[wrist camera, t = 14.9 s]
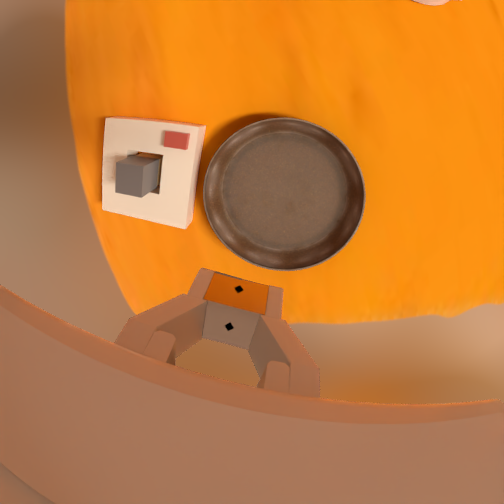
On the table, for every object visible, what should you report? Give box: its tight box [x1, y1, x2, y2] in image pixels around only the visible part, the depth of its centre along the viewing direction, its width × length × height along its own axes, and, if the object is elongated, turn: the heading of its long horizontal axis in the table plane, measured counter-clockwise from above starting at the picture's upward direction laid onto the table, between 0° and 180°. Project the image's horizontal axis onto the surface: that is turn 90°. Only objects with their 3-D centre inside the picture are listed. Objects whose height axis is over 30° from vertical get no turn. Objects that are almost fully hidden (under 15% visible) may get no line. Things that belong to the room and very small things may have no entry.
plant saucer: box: [203, 118, 365, 271], centre depth 35 cm, size 21×21×3 cm
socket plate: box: [102, 116, 206, 229], centre depth 35 cm, size 14×14×4 cm
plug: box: [115, 153, 163, 198], centre depth 34 cm, size 4×4×7 cm
